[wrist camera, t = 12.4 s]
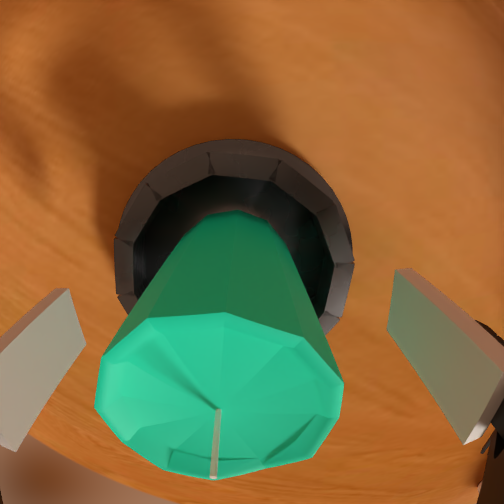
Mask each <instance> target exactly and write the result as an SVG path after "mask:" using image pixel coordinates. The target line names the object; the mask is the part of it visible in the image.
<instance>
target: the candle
mask: <svg viewBox="0 0 504 504" xmlns="http://www.w3.org/2000/svg"><path fill="white" fill-rule="evenodd" d="M343 389H344V382H343V379H342V377H341V374H340V372H339V369H338V367H337V364H336V362H335V359H334V357H333V354H332V352H331V349H330V347H329V344H328V342H327V339H326V337H325V334H324V332H323V330H322V327H321V325H320V322H319V320H318V318H317V315H316V313H315V310H314V308H313V306H312V303H311V301H310V299H309V296H308V294H307V291H306V289H305V287H304V284H303V282H302V280H301V277H300V275H299V273H298V271H297V268H296V266H295V264H294V261H293V259H292V257H291V254H290V252H289V250H288V248H287V245H286V243H285V242H284V241H283V240H282V238H281V237H280V236H279V235H278V233H277V232H276V231H275V230H274V228H273V227H272V226H271V225H270V223H269V222H268V221H267V220H265V219H262V218H259V217H257V216H254V215H251V214H249V213H246V212H243V211H241V210H232V211H226V212H220V213H214V214H208V215H207V216H205V217H204V218H203V219H202V220H201V221H199V222H198V223H197V224H196V225H195V226H193V227H192V228H191V229H190V230H189V231H188V232H186V233H185V234H184V236H183V237H182V239H181V240H180V241H179V243H178V244H177V245H176V247H175V248H174V250H173V251H172V252H171V254H170V255H169V257H168V258H167V259H166V261H165V262H164V264H163V265H162V266H161V268H160V269H159V271H158V272H157V274H156V275H155V276H154V278H153V279H152V281H151V282H150V284H149V285H148V287H147V288H146V290H145V291H144V292H143V294H142V295H141V297H140V298H139V300H138V301H137V303H136V304H135V306H134V307H133V309H132V310H131V312H130V313H129V315H128V316H127V318H126V319H125V321H124V323H123V324H122V326H121V327H120V329H119V330H118V332H117V333H116V335H115V337H114V338H113V340H112V341H111V343H110V344H109V346H108V348H107V349H106V351H105V352H104V354H103V356H102V357H101V363H100V369H99V375H98V382H97V389H96V396H95V404H94V408H95V409H96V411H97V412H98V413H99V415H100V416H101V417H102V418H103V420H104V421H105V422H106V423H107V425H108V426H109V427H110V428H111V430H112V431H113V432H114V433H115V435H116V436H117V437H118V438H119V439H120V441H121V442H123V443H124V444H125V445H127V446H128V447H130V448H131V449H132V450H134V451H135V452H137V453H138V454H140V455H141V456H142V457H144V458H145V459H147V460H148V461H150V462H151V463H153V464H155V465H156V466H158V467H159V468H161V469H162V470H165V471H169V472H174V473H178V474H183V475H187V476H192V477H198V478H203V479H209V480H219V479H224V478H229V477H234V476H238V475H242V474H246V473H250V472H254V471H258V470H262V469H266V468H271V467H275V466H280V465H285V464H289V463H293V462H298V461H302V460H306V459H309V458H312V457H313V456H314V454H315V453H316V451H317V450H318V448H319V447H320V446H321V444H322V443H323V441H324V440H325V438H326V437H327V435H328V434H329V432H330V431H331V429H332V428H333V426H334V425H335V423H336V422H337V420H338V419H339V416H340V409H341V403H342V396H343Z"/></svg>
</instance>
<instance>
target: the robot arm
mask: <svg viewBox="0 0 504 504" xmlns="http://www.w3.org/2000/svg"><path fill="white" fill-rule="evenodd" d="M387 331H388V333H389V334H390V335H391V337H392V338H393V339H394V341H395V342H396V344H397V345H398V346H399V348H400V349H401V351H402V352H403V354H404V355H405V356H406V358H407V359H408V361H409V362H410V364H411V365H412V366H413V368H414V369H415V371H416V372H417V374H418V375H419V377H420V378H421V380H422V381H423V383H424V384H425V386H426V387H427V389H428V390H429V392H430V393H431V395H432V396H433V398H434V399H435V401H436V402H437V404H438V405H439V407H440V408H441V410H442V412H443V413H444V415H445V416H446V418H447V419H448V421H449V423H450V424H451V426H452V427H453V429H454V431H455V432H456V434H457V436H458V437H459V439H460V440H461V442H462V444H463V445H465V444H467V443H469V442H471V441H473V440H475V439H478V438H480V437H482V436H483V434H484V432H485V431H486V429H487V428H488V426H489V424H490V423H492V425H493V426H494V427H495V430H494V432H493V433H492V435H491V436H490V438H489V439H488V441H487V442H486V444H485V445H484V446H483V448H482V450H481V453H482V454H483V453H484V452H485V450H486V449H487V448H488V446H489V452H488V454H487V455H488V458H487V463H486V468H485V472H484V477H483V481H482V485H481V489H480V493H479V497H478V500H477V504H504V340H503V339H502V338H501V337H499V336H497V334H496V333H495V332H494V331H493V330H492V329H491V328H489V327H488V326H487V325H485V324H483V323H481V322H479V321H477V320H474V319H473V318H471V317H470V316H469V315H468V314H467V313H466V312H465V311H463V310H462V309H461V308H460V307H459V306H458V305H456V304H455V303H454V302H453V301H452V300H450V299H449V298H448V297H447V296H446V295H444V294H443V293H442V292H441V291H440V290H438V289H437V288H436V287H435V286H433V285H432V284H431V283H430V282H428V281H427V280H426V279H425V278H423V277H422V276H421V275H420V274H418V273H417V272H416V271H414V270H413V269H412V268H406V269H396V270H395V275H394V283H393V291H392V299H391V306H390V312H389V319H388V325H387ZM85 345H86V342H85V339H84V336H83V333H82V330H81V327H80V324H79V321H78V318H77V315H76V311H75V308H74V305H73V301H72V298H71V294H70V291H69V288H57V289H54V290H53V291H52V292H51V293H49V294H48V295H47V296H46V297H45V298H44V299H42V300H41V301H40V302H39V303H38V304H37V305H35V306H34V307H33V308H32V309H31V310H30V311H29V312H27V313H26V314H25V315H24V316H23V317H22V318H21V319H20V320H19V321H17V322H16V323H15V324H14V325H13V326H12V327H11V328H10V329H9V330H8V331H7V332H6V333H5V334H3V335H2V336H1V337H0V445H1V446H3V447H5V448H7V449H10V450H12V451H14V452H16V451H17V450H18V448H19V446H20V444H21V443H22V441H23V439H24V438H25V436H26V434H27V433H28V431H29V429H30V428H31V426H32V424H33V423H34V421H35V420H36V418H37V416H38V415H39V413H40V412H41V410H42V408H43V407H44V405H45V404H46V402H47V401H48V399H49V398H50V396H51V395H52V393H53V392H54V390H55V389H56V387H57V386H58V384H59V383H60V381H61V380H62V378H63V377H64V375H65V374H66V372H67V371H68V369H69V368H70V367H71V365H72V364H73V362H74V361H75V359H76V358H77V357H78V355H79V354H80V352H81V351H82V350H83V348H84V347H85ZM0 504H3V501H2V496H1V491H0Z"/></svg>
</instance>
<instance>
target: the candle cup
mask: <svg viewBox="0 0 504 504" xmlns="http://www.w3.org/2000/svg"><path fill="white" fill-rule="evenodd" d="M232 210H241V211H243V212H246V213H249V214H251V215H254V216H257V217H259V218H262V219H265V220H267V221H268V222H269V223H270V225H271V226H272V227H273V228H274V230H275V231H276V232H277V233H278V235H279V236H280V237H281V238H282V240H283V241H284V242H285V243H286V245H287V248H288V250H289V252H290V254H291V257H292V259H293V261H294V264H295V266H296V268H297V271H298V273H299V275H300V277H301V280H302V282H303V284H304V287H305V289H306V291H307V294H308V296H309V299H310V301H311V303H312V306H313V308H314V310H315V313H316V315H317V318H318V320H319V322H320V325H321V327H322V330H323V332H324V334H325V335H326V334H327V333H328V332H329V331H330V330H331V329H332V328H333V327H334V326H335V325H336V324H337V322H338V321H339V320H340V319H339V317H342V313H343V310H344V306H345V302H346V298H347V294H348V290H349V286H350V282H351V278H352V274H353V269H354V265H355V264H354V263H353V261H355V260H354V257H353V254H352V240H351V232H350V228H349V224H348V221H347V217H346V215H345V213H344V210H343V208H342V205H341V203H340V202H339V200H338V198H337V197H336V195H335V193H334V192H333V190H332V189H331V187H330V186H329V185H328V184H327V183H326V181H325V180H324V179H323V178H322V177H321V176H320V175H319V174H318V173H317V172H316V171H315V170H314V169H313V168H312V167H311V166H309V165H308V164H306V163H305V162H304V161H302V160H301V159H299V158H298V157H296V156H295V155H293V154H291V153H289V152H287V151H285V150H282V149H280V148H278V147H275V146H272V145H269V144H265V143H261V142H256V141H250V140H240V139H225V140H215V141H209V142H205V143H201V144H197V145H194V146H191V147H189V148H186V149H184V150H182V151H179V152H177V153H176V154H174V155H172V156H171V157H169V158H167V159H165V160H164V161H163V162H161V163H160V164H159V165H158V166H156V167H155V168H154V169H153V170H151V171H150V173H149V174H148V175H147V176H146V177H145V178H144V179H143V180H142V181H141V182H140V184H139V185H138V186H137V188H136V189H135V191H134V192H133V194H132V195H131V197H130V199H129V201H128V203H127V205H126V207H125V209H124V212H123V215H122V218H121V221H120V224H119V229H118V230H117V232H116V234H115V236H116V238H114V262H115V282H116V294H119V296H118V297H117V298H118V299H119V301H120V303H121V304H122V306H123V307H124V309H125V311H126V312H127V314H128V315H129V313H130V312H131V310H132V309H133V307H134V306H135V304H136V303H137V301H138V300H139V298H140V297H141V295H142V294H143V292H144V291H145V290H146V288H147V287H148V285H149V284H150V282H151V281H152V279H153V278H154V276H155V275H156V274H157V272H158V271H159V269H160V268H161V266H162V265H163V264H164V262H165V261H166V259H167V258H168V257H169V255H170V254H171V252H172V251H173V250H174V248H175V247H176V245H177V244H178V243H179V241H180V240H181V239H182V237H183V236H184V234H185V233H186V232H188V231H189V230H190V229H191V228H192V227H193V226H195V225H196V224H197V223H198V222H199V221H201V220H202V219H203V218H204V217H205V216H207V215H208V214H214V213H220V212H226V211H232Z"/></svg>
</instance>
